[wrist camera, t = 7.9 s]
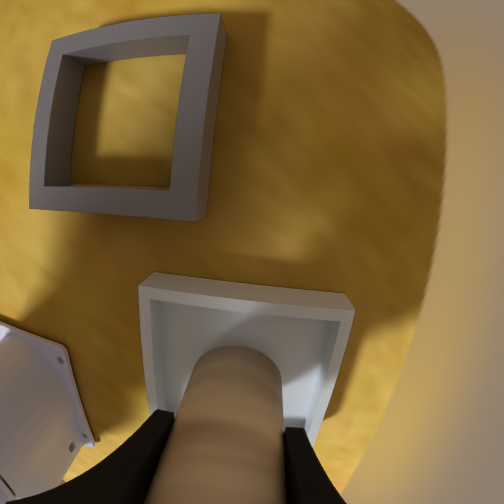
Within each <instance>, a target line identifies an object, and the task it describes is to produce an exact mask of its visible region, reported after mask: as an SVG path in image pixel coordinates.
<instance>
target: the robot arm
mask: <svg viewBox="0 0 504 504" xmlns="http://www.w3.org/2000/svg"><path fill="white" fill-rule="evenodd" d="M173 422H174V412H169V411H164V410H160V409H157V410H155V411H154V412H153V413H152V415H151V416H150V417H149V418H148V419H147V420H146V421H145V422H144V423H143V424H142V425H141V426H140V428H139V429H138V430H137V431H136V432H135V433H134V434H133V435H131V436H130V437H129V438H128V439H127V440H126V441H125V442H124V443H123V444H122V445H121V446H120V447H118V448H117V449H116V450H115V451H114V452H112V453H111V454H110V455H109V456H107V457H106V458H105V459H104V460H102V461H101V462H100V463H98V464H97V465H95V466H94V467H92V468H91V469H89V470H88V471H86V472H84V473H83V474H81V475H79V476H78V477H76V478H74V479H72V480H70V481H68V482H66V483H64V484H62V485H60V486H58V485H59V483H60V482H61V480H62V479H63V477H64V475H65V473H66V472H67V470H68V468H69V467H70V465H71V464H72V462H73V460H74V459H75V457H76V455H77V454H78V452H79V450H80V449H81V447H82V446H83V445H85V446H88V447H90V448H93V447H94V446H95V441H94V438H93V435H92V433H91V430H90V427H89V424H88V422H87V419H86V416H85V413H84V410H83V407H82V403H81V400H80V397H79V394H78V390H77V387H76V383H75V379H74V376H73V372H72V368H71V364H70V360H69V355H68V352H67V349H66V348H65V347H64V346H63V345H61V344H59V343H56V342H53V341H51V340H48V339H45V338H42V337H39V336H37V335H34V334H31V333H29V332H26V331H23V330H21V329H18V328H16V327H13V326H11V325H8V324H6V323H4V322H1V321H0V504H144V502H145V499H146V496H147V493H148V490H149V488H150V485H151V482H152V479H153V477H154V474H155V471H156V468H157V465H158V463H159V460H160V457H161V454H162V452H163V449H164V446H165V444H166V441H167V438H168V436H169V433H170V430H171V428H172V425H173ZM284 455H285V473H286V504H346V503H345V501H344V500H343V498H342V497H341V496H340V494H339V493H338V491H337V490H336V488H335V487H334V486H333V484H332V482H331V481H330V479H329V478H328V476H327V474H326V472H325V471H324V469H323V467H322V466H321V464H320V462H319V460H318V458H317V456H316V454H315V452H314V450H313V448H312V446H311V443H310V441H309V439H308V436H307V434H306V431H305V429H304V428H298V427H285V431H284Z"/></svg>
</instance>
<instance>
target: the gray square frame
mask: <svg viewBox="0 0 504 504" xmlns="http://www.w3.org/2000/svg"><path fill="white" fill-rule="evenodd" d="M226 40H227V32H226V29H225V26H224V23H223V20H222V17H221V14H191V15H177V16H166V17H157V18H149V19H142V20H135V21H129V22H123V23H118V24H113V25H108V26H104V27H99V28H95V29H91V30H87V31H83V32H79V33H76V34H72V35H69V36H65V37H62V38H59V39H56V40H53V41H52V43H51V47H50V50H49V54H48V57H47V61H46V65H45V69H44V74H43V78H42V83H41V88H40V93H39V98H38V104H37V110H36V116H35V123H34V131H33V140H32V150H31V163H30V185H29V209H40V210H56V211H71V212H85V213H98V214H111V215H123V216H135V217H147V218H158V219H169V220H180V221H191V222H196V221H197V220H199V219H201V218H202V217H204V216H205V215H207V203H208V192H209V180H210V170H211V159H212V149H213V140H214V131H215V122H216V113H217V105H218V97H219V89H220V82H221V74H222V67H223V60H224V53H225V47H226ZM177 54H186V60H185V66H184V72H183V78H182V85H181V91H180V98H179V105H178V113H177V121H176V129H175V138H174V148H173V158H172V169H171V181H170V188H167V187H150V186H130V185H103V184H70V168H71V155H72V144H73V134H74V126H75V118H76V112H77V105H78V99H79V93H80V88H81V83H82V78H83V73H84V68H85V66H86V65H92V64H97V63H103V62H109V61H115V60H123V59H130V58H139V57H149V56H161V55H177Z"/></svg>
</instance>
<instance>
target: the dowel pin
mask: <svg viewBox="0 0 504 504" xmlns="http://www.w3.org/2000/svg"><path fill="white" fill-rule="evenodd" d="M144 504H286V473H285V455H284V417H283V395H282V378H281V373H280V371H279V369H278V367H277V366H276V364H275V363H274V362H273V361H272V360H271V359H270V358H269V357H268V356H266V355H265V354H263V353H261V352H259V351H257V350H255V349H252V348H248V347H244V346H235V345H232V346H222V347H218V348H215V349H212V350H210V351H208V352H206V353H205V354H204V355H202V356H201V357H200V358H199V359H198V361H197V362H196V364H195V366H194V368H193V371H192V374H191V376H190V379H189V382H188V384H187V387H186V390H185V392H184V395H183V398H182V400H181V403H180V406H179V408H178V411H177V414H176V416H175V419H174V422H173V425H172V428H171V430H170V433H169V436H168V438H167V441H166V444H165V446H164V449H163V452H162V454H161V457H160V460H159V463H158V465H157V468H156V471H155V474H154V477H153V479H152V482H151V485H150V488H149V490H148V493H147V496H146V499H145V502H144Z"/></svg>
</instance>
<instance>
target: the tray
mask: <svg viewBox="0 0 504 504" xmlns="http://www.w3.org/2000/svg"><path fill="white" fill-rule="evenodd" d="M138 292H139V315H140V331H141V344H142V355H143V366H144V375H145V383H146V391H147V399H148V406H149V413H150V416H151V415H152V413H153V412H154V411H155V410H157V409H160V410H164V411H169V412H174V419H175V416H176V414H177V411H178V408H179V406H180V403H181V400H182V398H183V395H184V392H185V390H186V387H187V384H188V382H189V379H190V376H191V374H192V371H193V368H194V366H195V364H196V362H197V361H198V359H199V358H200V357H201V356H202V355H204V354H205V353H206V352H208V351H210V350H212V349H215V348H218V347H222V346H232V345H235V346H244V347H248V348H252V349H255V350H257V351H259V352H261V353H263V354H265V355H266V356H268V357H269V358H270V359H271V360H272V361H273V362H274V363H275V364H276V366H277V367H278V369H279V371H280V373H281V378H282V395H283V417H284V431H285V427H298V428H304V429H305V431H306V434H307V436H308V439H309V441H310V443H311V446H312V447H313V444H314V442H315V439H316V437H317V434H318V431H319V429H320V426H321V423H322V421H323V418H324V415H325V412H326V409H327V407H328V404H329V401H330V398H331V395H332V392H333V389H334V385H335V382H336V379H337V376H338V373H339V369H340V366H341V363H342V359H343V356H344V352H345V349H346V345H347V342H348V338H349V334H350V330H351V327H352V323H353V319H354V315H355V309H354V307H353V306H352V304H351V302H350V301H349V299H348V298H347V296H346V294H345V293H334V292H323V291H312V290H302V289H292V288H283V287H273V286H264V285H255V284H246V283H237V282H229V281H221V280H212V279H204V278H197V277H189V276H181V275H174V274H166V273H159V272H153V273H152V274H151V275H150V276H149V277H147V278H146V279H145V280H144V281H143V282H142V283H141V284H140V285H138Z"/></svg>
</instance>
